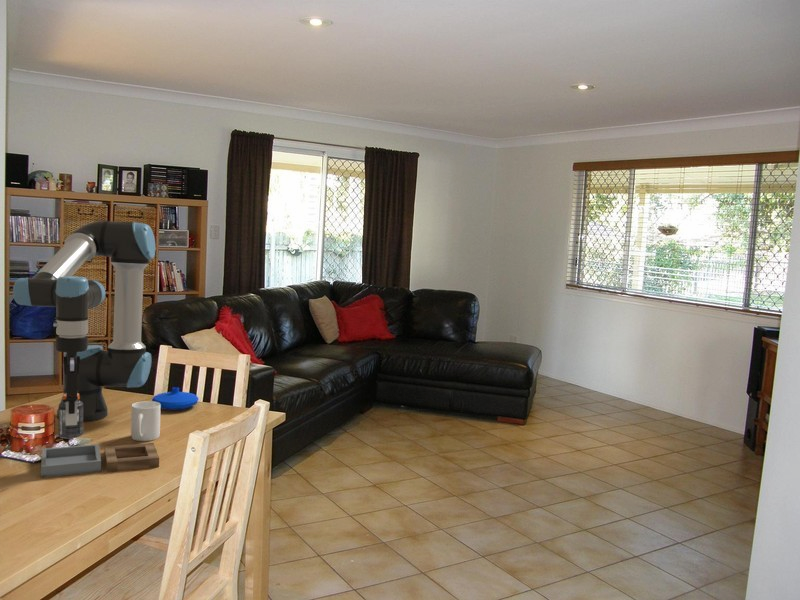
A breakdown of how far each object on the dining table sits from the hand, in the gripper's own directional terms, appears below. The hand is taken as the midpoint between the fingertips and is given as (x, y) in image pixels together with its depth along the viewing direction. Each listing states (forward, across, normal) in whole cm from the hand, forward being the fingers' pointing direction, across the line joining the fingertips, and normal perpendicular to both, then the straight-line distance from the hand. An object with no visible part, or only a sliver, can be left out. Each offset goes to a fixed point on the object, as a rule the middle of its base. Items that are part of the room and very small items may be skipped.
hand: (71, 421), depth 181 cm
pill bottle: (+4, 0, 0) cm, 4 cm away
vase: (+12, -50, +34) cm, 62 cm away
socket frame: (+12, -1, +15) cm, 19 cm away
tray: (+12, 0, 0) cm, 12 cm away
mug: (+12, -17, +20) cm, 29 cm away
